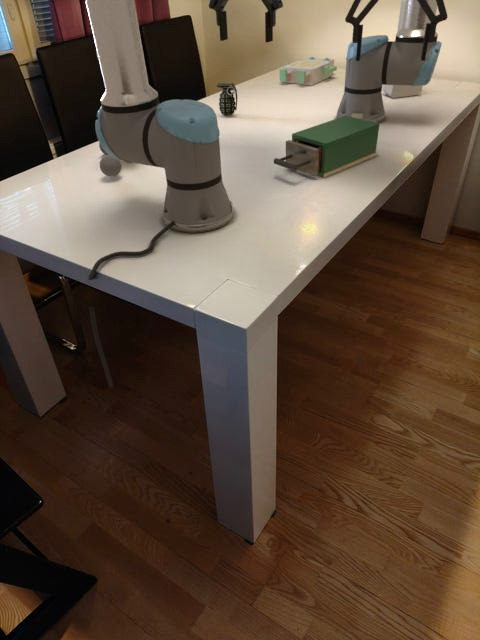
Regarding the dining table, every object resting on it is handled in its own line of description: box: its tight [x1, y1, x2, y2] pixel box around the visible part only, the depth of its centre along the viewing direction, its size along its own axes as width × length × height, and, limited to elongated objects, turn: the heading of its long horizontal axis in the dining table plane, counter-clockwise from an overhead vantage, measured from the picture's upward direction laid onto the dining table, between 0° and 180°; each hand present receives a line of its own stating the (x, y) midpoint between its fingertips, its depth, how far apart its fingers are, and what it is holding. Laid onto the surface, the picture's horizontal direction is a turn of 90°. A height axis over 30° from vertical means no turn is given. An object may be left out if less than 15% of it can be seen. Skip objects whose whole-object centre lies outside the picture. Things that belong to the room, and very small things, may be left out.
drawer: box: [272, 139, 323, 177], centre depth 125 cm, size 25×10×6 cm, turn 130°
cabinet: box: [291, 116, 380, 178], centre depth 128 cm, size 21×12×8 cm, turn 131°
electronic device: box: [382, 0, 423, 99], centre depth 171 cm, size 12×8×30 cm, turn 105°
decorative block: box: [279, 56, 338, 86], centre depth 205 cm, size 26×6×20 cm
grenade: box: [215, 82, 238, 117], centre depth 166 cm, size 7×6×10 cm
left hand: (246, 40), depth 128 cm, fingers open, 13 cm apart
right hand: (389, 59), depth 106 cm, fingers open, 13 cm apart
